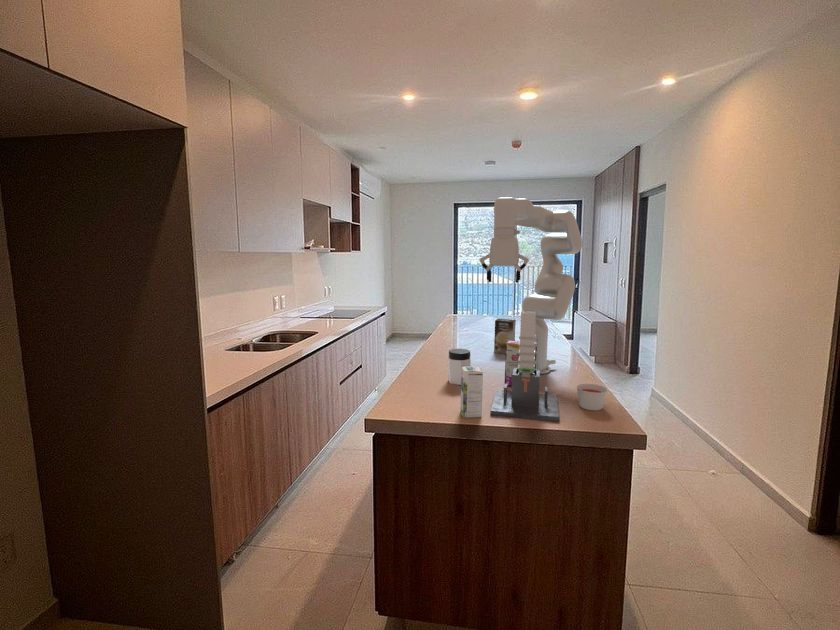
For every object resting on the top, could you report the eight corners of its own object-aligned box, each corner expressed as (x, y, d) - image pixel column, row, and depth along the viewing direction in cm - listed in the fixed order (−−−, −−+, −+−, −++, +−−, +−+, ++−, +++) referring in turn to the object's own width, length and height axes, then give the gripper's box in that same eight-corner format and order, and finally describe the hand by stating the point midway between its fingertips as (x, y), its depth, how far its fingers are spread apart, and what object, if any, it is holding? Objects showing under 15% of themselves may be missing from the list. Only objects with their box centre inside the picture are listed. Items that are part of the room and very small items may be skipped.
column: (534, 379, 139) (536, 311, 136) (534, 383, 134) (536, 314, 131) (518, 378, 141) (520, 311, 137) (517, 382, 136) (519, 313, 132)
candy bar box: (504, 386, 159) (505, 342, 157) (506, 382, 164) (507, 340, 162) (535, 389, 156) (537, 345, 153) (536, 385, 160) (538, 342, 158)
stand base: (556, 399, 146) (558, 362, 144) (559, 421, 127) (561, 380, 125) (496, 394, 151) (497, 358, 149) (490, 415, 132) (491, 375, 130)
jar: (456, 386, 159) (456, 354, 157) (443, 380, 166) (443, 350, 164) (475, 382, 164) (475, 351, 162) (461, 377, 171) (461, 347, 169)
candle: (576, 400, 144) (577, 382, 143) (605, 404, 141) (606, 385, 140) (575, 410, 136) (576, 390, 135) (606, 413, 133) (607, 394, 132)
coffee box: (493, 352, 210) (494, 320, 207) (496, 350, 215) (497, 318, 213) (512, 354, 206) (513, 321, 203) (515, 351, 212) (516, 319, 209)
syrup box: (459, 411, 135) (460, 366, 133) (478, 410, 136) (479, 365, 134) (463, 418, 130) (463, 371, 127) (482, 417, 130) (483, 371, 128)
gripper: (530, 233, 154) (528, 281, 156) (481, 234, 158) (480, 281, 161) (529, 233, 147) (527, 283, 149) (478, 233, 151) (477, 282, 154)
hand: (503, 282), depth 155 cm, fingers open, 9 cm apart
